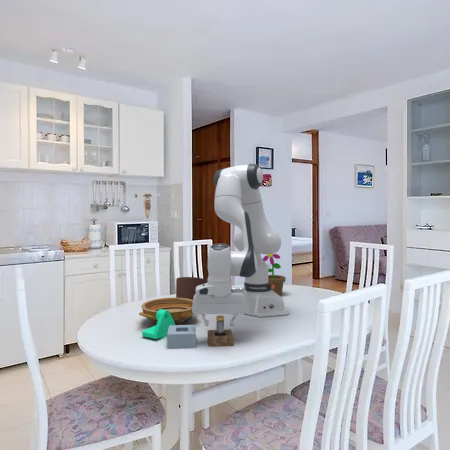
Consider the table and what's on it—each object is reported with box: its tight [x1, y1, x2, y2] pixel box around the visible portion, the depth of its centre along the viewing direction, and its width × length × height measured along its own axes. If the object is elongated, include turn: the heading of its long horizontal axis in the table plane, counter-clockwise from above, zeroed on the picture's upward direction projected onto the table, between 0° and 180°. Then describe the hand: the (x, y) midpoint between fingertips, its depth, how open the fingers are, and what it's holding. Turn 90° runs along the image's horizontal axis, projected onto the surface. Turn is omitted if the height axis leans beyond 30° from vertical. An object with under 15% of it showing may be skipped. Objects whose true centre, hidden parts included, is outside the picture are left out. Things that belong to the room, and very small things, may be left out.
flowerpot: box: [262, 253, 286, 297], centre depth 209 cm, size 14×14×30 cm
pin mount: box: [207, 328, 235, 347], centre depth 136 cm, size 9×9×3 cm
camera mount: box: [141, 309, 175, 340], centre depth 143 cm, size 12×8×10 cm, turn 150°
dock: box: [166, 324, 197, 349], centre depth 135 cm, size 10×10×5 cm
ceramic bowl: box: [138, 297, 195, 325], centre depth 159 cm, size 30×24×8 cm
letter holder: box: [175, 276, 208, 300], centre depth 193 cm, size 10×20×14 cm, turn 70°
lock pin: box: [215, 314, 225, 336], centre depth 136 cm, size 3×3×10 cm
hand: (219, 325), depth 136 cm, fingers open, 8 cm apart
